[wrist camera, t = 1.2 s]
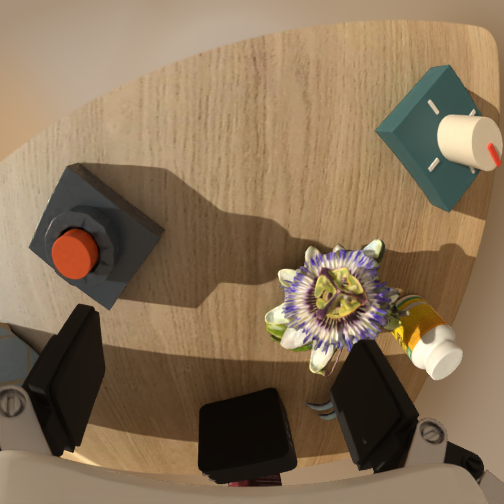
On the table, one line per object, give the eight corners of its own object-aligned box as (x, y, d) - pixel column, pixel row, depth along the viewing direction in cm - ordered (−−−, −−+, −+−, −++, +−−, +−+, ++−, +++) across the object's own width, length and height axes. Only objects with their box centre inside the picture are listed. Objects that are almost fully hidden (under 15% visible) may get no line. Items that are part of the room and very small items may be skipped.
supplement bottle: (429, 306, 32) (474, 354, 23) (399, 338, 33) (437, 391, 24) (410, 284, 30) (459, 334, 21) (377, 319, 31) (417, 376, 22)
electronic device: (284, 404, 35) (299, 468, 26) (212, 422, 36) (213, 485, 27) (275, 385, 34) (290, 454, 25) (199, 405, 34) (197, 472, 25)
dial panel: (374, 130, 23) (392, 131, 21) (431, 67, 21) (450, 63, 18) (431, 204, 27) (450, 213, 24) (479, 142, 24) (498, 145, 21)
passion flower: (298, 234, 32) (383, 207, 22) (349, 308, 34) (435, 307, 24) (223, 307, 28) (297, 314, 17) (289, 382, 30) (374, 413, 19)
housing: (39, 239, 24) (18, 255, 21) (78, 162, 22) (56, 169, 18) (115, 298, 27) (103, 321, 24) (165, 229, 25) (155, 246, 22)
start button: (55, 252, 21) (45, 261, 20) (71, 219, 20) (61, 226, 19) (87, 277, 22) (79, 288, 21) (106, 246, 22) (98, 255, 20)
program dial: (429, 135, 21) (466, 140, 16) (453, 105, 20) (490, 106, 15) (453, 171, 22) (488, 183, 18) (475, 141, 21) (510, 148, 17)
